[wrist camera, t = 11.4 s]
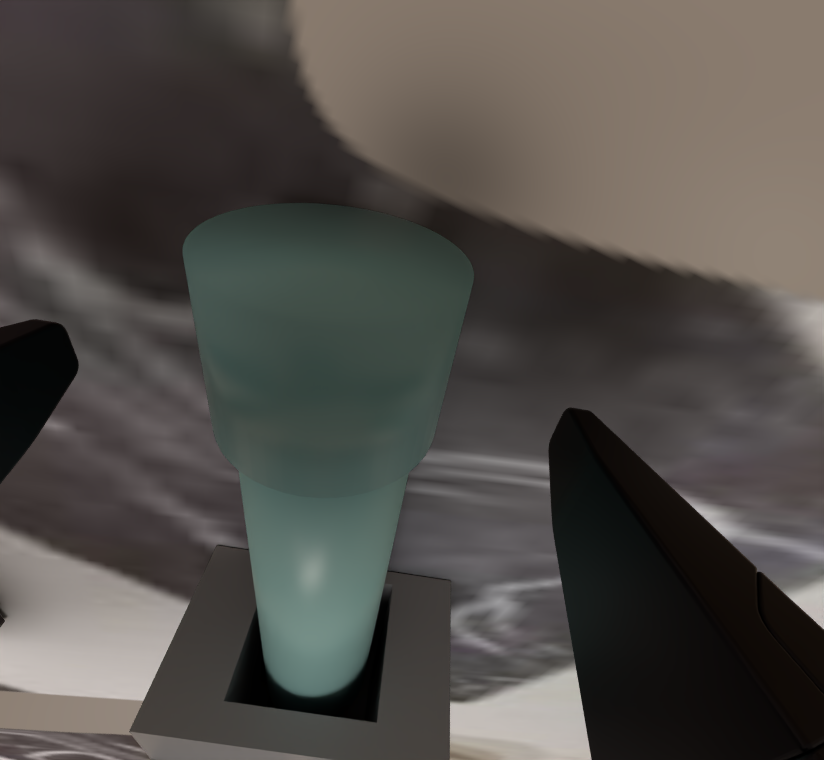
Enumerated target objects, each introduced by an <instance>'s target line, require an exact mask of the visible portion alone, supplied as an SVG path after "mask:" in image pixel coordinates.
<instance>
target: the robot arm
mask: <svg viewBox="0 0 824 760" xmlns="http://www.w3.org/2000/svg"><path fill="white" fill-rule="evenodd" d="M78 367H79V363H78V359H77V356H76V354H75V351H74V348H73V346H72V343H71V340H70V338H69V335H68V333H67V330H66V329H65V328H64V327H63V325H61V324H59V323H57V322H51V321H45V320H38V319H33V320H28V321H24V322H20V323H16V324H12V325H8V326H4V327H1V328H0V484H1V482H2V481H3V480H4V479H5V477H6V476H7V475H8V474H9V472H10V471H11V470H12V469H13V467H14V466H15V465H16V464H17V462H18V461H19V460H20V459H21V457H22V456H23V455H24V454H25V452H26V451H27V450H28V448H29V447H30V446H31V444H32V443H33V441H34V440H35V438H36V437H37V436H38V434H39V433H40V431H41V429H42V428H43V426H44V425H45V423H46V422H47V420H48V419H49V417H50V415H51V414H52V412H53V411H54V409H55V408H56V406H57V404H58V403H59V401H60V400H61V398H62V397H63V395H64V393H65V392H66V390H67V389H68V387H69V386H70V384H71V382H72V381H73V379H74V378H75V376H76V374H77V372H78ZM549 472H550V493H551V513H552V526H553V533H554V540H555V546H556V552H557V558H558V563H559V569H560V575H561V581H562V587H563V593H564V599H565V605H566V611H567V617H568V623H569V628H570V634H571V640H572V646H573V652H574V658H575V664H576V670H577V676H578V682H579V688H580V693H581V699H582V705H583V711H584V717H585V723H586V729H587V735H588V741H589V747H590V753H591V759H592V760H824V629H823V628H822V627H820V626H819V625H818V624H817V623H816V622H815V621H814V620H813V619H812V618H811V617H810V616H808V615H807V614H806V613H805V612H804V611H803V610H802V609H801V608H800V607H799V606H797V605H796V604H795V603H794V602H793V601H792V600H791V599H790V598H789V597H788V596H787V595H785V594H784V593H783V592H782V591H781V590H780V589H779V588H778V587H777V586H776V585H775V584H774V583H773V582H772V581H771V580H770V579H769V578H768V577H766V576H765V575H764V574H763V573H762V572H757V568H756V566H755V565H754V564H752V563H751V562H750V561H749V560H748V559H747V558H746V557H745V556H744V555H743V554H742V553H741V552H740V551H739V550H738V549H737V548H735V547H734V546H733V545H732V544H731V543H730V542H729V541H728V540H727V539H726V538H725V537H724V536H723V535H722V534H721V533H720V532H718V531H717V530H716V529H715V528H714V527H713V526H712V525H711V524H710V523H709V522H708V521H707V520H706V519H705V518H704V517H703V516H701V515H700V514H699V513H698V512H697V511H696V510H695V509H694V508H693V507H692V506H691V505H690V504H689V503H688V502H687V501H686V500H684V499H683V498H682V497H681V496H680V495H679V494H678V493H677V492H676V491H675V490H674V489H673V488H672V487H671V486H670V485H669V484H668V483H666V482H665V481H664V480H663V479H662V478H661V477H660V476H659V475H658V474H657V473H656V472H655V471H654V470H653V469H652V468H651V467H649V466H648V465H647V464H646V463H645V462H644V461H643V460H642V459H641V458H640V457H639V456H638V455H637V454H636V453H635V452H634V451H632V450H631V449H630V448H629V447H628V446H627V445H626V444H625V443H624V442H623V441H622V440H621V439H620V438H619V437H618V436H617V435H615V434H614V433H613V432H612V431H611V430H610V429H609V428H608V427H607V426H606V425H605V424H604V423H603V422H602V421H601V420H600V419H598V418H597V417H596V416H595V415H594V414H593V413H592V412H590V411H588V410H583V409H577V408H568V409H566V410H565V411H564V412H563V414H562V416H561V418H560V420H559V422H558V424H557V427H556V429H555V431H554V433H553V435H552V437H551V439H550V443H549ZM4 622H5V620H4V619H3V618H2V617H1V615H0V627H1V626H2V624H3V623H4Z"/></svg>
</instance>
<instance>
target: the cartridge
mask: <svg viewBox="0 0 824 760" xmlns="http://www.w3.org/2000/svg"><path fill="white" fill-rule="evenodd" d="M183 260H184V266H185V271H186V277H187V283H188V289H189V295H190V300H191V306H192V312H193V318H194V324H195V329H196V335H197V341H198V347H199V352H200V358H201V364H202V370H203V376H204V381H205V387H206V393H207V399H208V405H209V410H210V416H211V422H212V428H213V433H214V436H215V439H216V442H217V444H218V446H219V448H220V450H221V452H222V453H223V455H224V456H225V457H226V458H227V460H228V461H229V462H230V463H231V464H232V465H233V466H234V467H235V468H236V469H238V470H239V478H240V485H241V493H242V500H243V508H244V515H245V523H246V530H247V537H248V545H249V552H250V560H251V567H252V575H253V582H254V590H255V597H256V605H257V612H258V619H259V627H260V634H261V642H262V649H263V657H264V664H265V672H266V679H267V687H268V691H269V695H270V698H271V700H272V702H273V704H274V706H275V707H276V709H283V710H290V711H297V712H305V713H312V714H319V715H326V716H333V717H338V716H340V715H341V714H342V713H344V712H345V711H346V710H347V709H348V708H349V707H350V705H351V704H352V703H353V701H354V700H355V698H356V697H357V695H358V693H359V691H360V688H361V686H362V683H363V679H364V674H365V670H366V665H367V661H368V656H369V651H370V647H371V642H372V638H373V633H374V629H375V624H376V620H377V615H378V611H379V606H380V602H381V597H382V592H383V588H384V583H385V579H386V574H387V570H388V565H389V561H390V556H391V552H392V547H393V543H394V538H395V533H396V529H397V524H398V520H399V515H400V511H401V506H402V502H403V497H404V493H405V488H406V484H407V479H408V474H409V472H410V471H411V470H412V469H413V468H414V467H415V466H417V465H418V464H419V462H420V461H421V460H422V459H423V457H424V456H425V455H426V453H427V452H428V450H429V448H430V446H431V444H432V441H433V438H434V435H435V431H436V427H437V423H438V419H439V415H440V411H441V407H442V403H443V400H444V396H445V392H446V388H447V384H448V380H449V376H450V372H451V368H452V364H453V360H454V356H455V352H456V348H457V344H458V340H459V336H460V333H461V329H462V325H463V321H464V317H465V313H466V309H467V305H468V301H469V297H470V293H471V289H472V285H473V281H474V271H473V267H472V265H471V263H470V261H469V259H468V258H467V256H466V255H465V254H464V253H463V252H462V251H461V250H460V249H459V248H458V247H457V246H456V245H454V244H453V243H452V242H450V241H449V240H448V239H446V238H444V237H443V236H441V235H439V234H438V233H436V232H434V231H432V230H430V229H427V228H425V227H423V226H420V225H418V224H416V223H413V222H410V221H407V220H405V219H402V218H398V217H395V216H391V215H388V214H384V213H380V212H376V211H371V210H366V209H361V208H354V207H348V206H340V205H331V204H317V203H281V204H268V205H259V206H252V207H246V208H241V209H237V210H233V211H229V212H226V213H223V214H220V215H217V216H215V217H213V218H211V219H208V220H206V221H205V222H203V223H201V224H200V225H198V226H197V227H196V228H195V229H193V230H192V231H191V232H190V233H189V235H188V236H187V238H186V239H185V242H184V245H183Z"/></svg>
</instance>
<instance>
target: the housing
mask: <svg viewBox="0 0 824 760" xmlns="http://www.w3.org/2000/svg"><path fill="white" fill-rule="evenodd" d="M450 614H451V581H448V580H441V579H434V578H428V577H421V576H415V575H408V574H402V573H395V572H388V571H387V574H386V579H385V583H384V588H383V592H382V597H381V602H380V606H379V611H378V615H377V620H376V624H375V629H374V633H373V638H372V642H371V647H370V651H369V656H368V661H367V665H366V670H365V674H364V679H363V683H362V686H361V688H360V691H359V693H358V695H357V697H356V698H355V700H354V701H353V703H352V704H351V705H350V707H349V708H348V709H347V710H346V711H345V712H344V713H342V714H341V715H340V716H338V717H333V716H326V715H319V714H312V713H305V712H297V711H290V710H283V709H276V707H275V706H274V704H273V702H272V700H271V698H270V695H269V691H268V687H267V679H266V672H265V664H264V657H263V649H262V642H261V634H260V627H259V619H258V612H257V605H256V597H255V590H254V582H253V575H252V567H251V560H250V552H249V550H244V549H237V548H231V547H224V546H216V548H215V550H214V553H213V555H212V557H211V559H210V561H209V563H208V565H207V567H206V570H205V572H204V574H203V576H202V578H201V580H200V582H199V584H198V587H197V589H196V591H195V593H194V595H193V597H192V599H191V601H190V604H189V606H188V608H187V610H186V612H185V614H184V616H183V618H182V620H181V623H180V625H179V627H178V629H177V631H176V633H175V635H174V637H173V640H172V642H171V644H170V646H169V648H168V650H167V652H166V654H165V657H164V659H163V661H162V663H161V665H160V667H159V669H158V671H157V674H156V676H155V678H154V680H153V682H152V684H151V686H150V688H149V691H148V693H147V695H146V697H145V699H144V701H143V703H142V706H141V708H140V710H139V712H138V714H137V716H136V718H135V720H134V723H133V725H132V727H131V729H130V731H129V732H130V733H131V734H132V736H133V737H134V738H135V740H136V741H137V742H138V743H139V745H140V746H141V747H142V748H143V750H144V751H145V752H146V754H147V755H148V756H149V757H150V760H450Z"/></svg>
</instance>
